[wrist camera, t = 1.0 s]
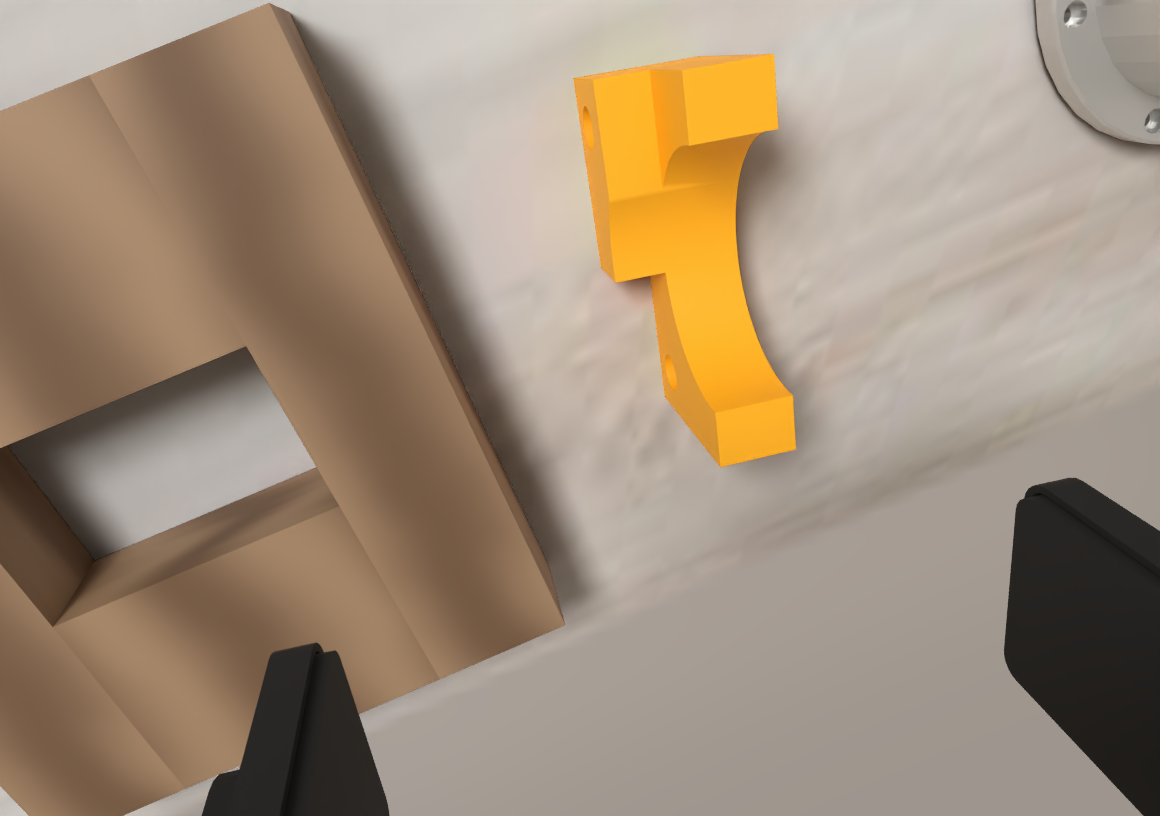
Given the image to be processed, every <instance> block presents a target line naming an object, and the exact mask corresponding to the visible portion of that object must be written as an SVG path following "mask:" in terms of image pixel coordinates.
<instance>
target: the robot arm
mask: <svg viewBox="0 0 1160 816" xmlns="http://www.w3.org/2000/svg"><path fill="white" fill-rule="evenodd" d="M1035 1H1036V16H1037V30H1038V36H1039V40H1040V44H1041V48H1042V52H1043V56H1044V60H1045V64H1046V67H1047V69H1048V71H1049V73H1050V75H1051V77H1052V79H1053V81H1054V83H1055V85H1056V88H1057V90H1058V92H1059V93H1060V95H1061V96H1062V97H1063V98H1064V100H1065V101H1066V102H1067V103H1068V104H1069V106H1070V107H1071V108H1072V109H1073V111H1074V112H1075V113H1076V114H1077V115H1078V116H1079V117H1081V118H1082V119H1083V120H1085V121H1086V122H1087V123H1089V124H1090V125H1091V126H1093V127H1094V128H1095V129H1097V130H1098V131H1101V132H1103V133H1106V134H1108V135H1111V136H1113V137H1116V138H1118V139H1121V140H1126V141H1133V142H1140V143H1147V144H1160V0H1035ZM1004 655H1005V661H1006V664H1007V666H1008V668H1009V670H1010V672H1011V674H1012V676H1013V677H1014V678H1015V680H1016V681H1017V682H1018V683H1019V684H1020V685H1021V686H1022V687H1023V688H1024V689H1025V690H1026V691H1027V692H1028V693H1029V695H1030V696H1031V697H1032V698H1033V699H1034V700H1035V701H1036V702H1037V703H1038V704H1039V705H1040V706H1041V707H1042V708H1043V709H1044V710H1045V712H1046V713H1047V714H1048V715H1049V716H1050V717H1051V718H1052V719H1053V720H1054V721H1055V722H1056V723H1057V724H1058V725H1059V726H1060V727H1061V729H1062V730H1063V731H1064V732H1065V733H1066V734H1067V735H1068V736H1069V737H1070V738H1071V739H1072V740H1073V741H1074V742H1075V743H1076V744H1077V746H1079V748H1080V749H1081V750H1082V751H1083V752H1084V753H1085V754H1086V755H1087V756H1088V757H1089V758H1090V759H1091V760H1092V761H1093V762H1094V764H1096V766H1097V767H1098V768H1099V769H1100V770H1101V771H1102V772H1103V773H1104V774H1105V775H1106V776H1107V777H1108V779H1109V780H1111V782H1112V783H1113V784H1114V785H1115V786H1116V787H1117V788H1118V789H1119V790H1120V791H1121V792H1122V793H1123V794H1124V796H1125V797H1126V798H1127V799H1128V800H1129V801H1130V802H1131V803H1132V804H1133V805H1134V806H1135V807H1136V808H1137V809H1138V810H1139V811H1140V812H1141V814H1142V815H1143V816H1160V531H1159V530H1157V529H1156V528H1154V527H1153V526H1151V525H1149V524H1148V523H1146V522H1145V521H1143V520H1141V519H1140V518H1139V517H1137V516H1136V515H1134V514H1132V513H1131V512H1129V511H1128V510H1126V509H1125V508H1123V507H1122V506H1120V505H1118V504H1117V503H1116V502H1114V501H1113V500H1111V499H1109V498H1108V497H1106V496H1104V495H1103V494H1102V493H1100V492H1098V491H1097V490H1096V489H1094V488H1092V487H1091V486H1089V485H1088V484H1086V483H1085V482H1083V481H1081V480H1079V479H1077V478H1067V479H1062V480H1058V481H1053V482H1048V483H1044V484H1039V485H1035V486H1032V487H1031V488H1029V489H1028V490H1027V492H1026V494H1025V498H1024V499H1022V500H1020V501H1019V502H1018V504H1017V508H1016V514H1015V527H1014V538H1013V550H1012V563H1011V574H1010V587H1009V599H1008V610H1007V623H1006V634H1005V646H1004ZM202 816H389V810H388V804H387V800H386V796H385V793H384V790H383V787H382V784H381V781H380V778H379V775H378V772H377V769H376V766H375V763H374V760H373V756H372V753H371V751H370V747H369V744H368V741H367V738H366V735H365V732H364V729H363V726H362V723H361V720H360V717H359V714H358V711H357V707H356V704H355V701H354V698H353V695H352V692H351V689H350V686H349V683H348V680H347V677H346V674H345V671H344V668H343V665H342V662H341V659H340V656H339V654H338V652H337V651H335V650H333V651H329V652H324V651H323V649H322V647H321V646H320V644H319V643H311V644H307V645H302V646H298V647H293V648H289V649H284V650H279V651H275V652H273V653H272V654H271V655H270V658H269V661H268V664H267V668H266V672H265V676H264V679H263V683H262V687H261V691H260V694H259V698H258V702H257V706H256V709H255V713H254V717H253V721H252V725H251V728H250V732H249V736H248V740H247V743H246V747H245V751H244V755H243V758H242V762H241V766H240V770H236V771H232V772H227V773H223V774H219V775H218V776H217V778H216V779H215V780H214V781H213V783H212V786H211V788H210V790H209V793H208V796H207V800H206V803H205V806H204V810H203V813H202Z"/></svg>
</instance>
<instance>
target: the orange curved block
mask: <svg viewBox="0 0 1160 816" xmlns="http://www.w3.org/2000/svg"><path fill="white" fill-rule="evenodd" d="M573 79H574V85H575V92H576V99H577V106H578V113H579V119H580V126H581V133H582V140H583V147H584V154H585V160H586V167H587V174H588V181H589V188H590V195H591V201H592V208H593V215H594V222H595V229H596V235H597V242H598V249H599V256H600V263H601V268H602V269H603V270H604V271H605V272H606V273H607V274H608V275H609V276H610V277H611V278H612V279H613V280H614V281H615V282H616V283H617V282H622V281H627V280H632V279H637V278H642V277H646V276H650V280H651V288H652V296H653V304H654V312H655V320H656V329H657V337H658V345H659V353H660V361H661V369H662V377H663V385H664V394H665V398H666V399H667V400H668V401H669V403H670V404H671V405H672V406H673V408H674V409H675V410H676V411H677V413H678V414H679V415H680V417H681V418H682V419H683V420H684V422H685V423H686V424H687V425H688V427H689V428H690V429H691V430H692V432H693V433H694V434H695V436H696V437H697V438H698V439H699V441H700V442H701V443H702V444H703V446H704V447H705V448H706V449H707V451H708V452H709V453H710V455H711V456H712V457H713V458H714V460H715V461H716V462H717V463H718V465H719V466H720V467H723V466H728V465H732V464H736V463H740V462H745V461H749V460H753V459H757V458H762V457H766V456H770V455H774V454H779V453H783V452H787V451H791V450H796V442H795V424H794V406H793V395H792V394H791V393H790V392H789V391H788V390H787V389H786V388H785V387H784V385H783V384H782V383H781V382H780V380H779V379H778V378H777V376H776V375H775V373H774V371H773V370H772V368H771V366H770V364H769V363H768V361H767V359H766V357H765V355H764V352H763V350H762V348H761V346H760V343H759V341H758V338H757V336H756V333H755V330H754V327H753V324H752V321H751V318H750V315H749V311H748V308H747V304H746V300H745V295H744V291H743V286H742V281H741V276H740V269H739V262H738V254H737V242H736V199H737V189H738V182H739V177H740V172H741V168H742V165H743V161H744V158H745V156H746V153H747V151H748V149H749V147H750V146H751V144H752V142H753V141H754V140H755V138H756V137H757V136H758V135H760V134H761V133H762V132H765V131H770V130H776V129H778V116H777V97H776V79H775V61H774V54H759V55H728V56H698V57H693V58H687V59H681V60H675V61H670V62H664V63H658V64H652V65H647V66H641V67H635V68H629V69H624V70H618V71H612V72H606V73H601V74H595V75H589V76H584V77H578V78H573Z"/></svg>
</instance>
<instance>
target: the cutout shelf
mask: <svg viewBox="0 0 1160 816" xmlns="http://www.w3.org/2000/svg"><path fill="white" fill-rule="evenodd" d="M245 346H246V347H247V348H248V350H249V352H250V353H251V355H252V357H253V359H254V360H255V362H256V364H257V365H258V367H259V369H260V371H261V372H262V374H263V376H264V377H265V379H266V381H267V383H268V384H269V386H270V388H271V390H272V391H273V393H274V395H275V396H276V398H277V400H278V402H279V403H280V405H281V407H282V408H283V410H284V412H285V414H286V415H287V417H288V419H289V420H290V422H291V424H292V426H293V427H294V429H295V431H296V432H297V434H298V436H299V438H300V439H301V441H302V443H303V445H304V446H305V448H306V450H307V451H308V453H309V455H310V457H311V458H312V460H313V462H314V463H315V465H316V468H314V469H312V470H309V471H307V472H305V473H302V474H300V475H297V476H295V477H293V478H290V479H288V480H286V481H283V482H281V483H278V484H276V485H274V486H271V487H269V488H267V489H264V490H262V491H259V492H257V493H255V494H252V495H250V496H248V497H245V498H243V499H240V500H238V501H236V502H233V503H231V504H229V505H226V506H224V507H221V508H219V509H217V510H214V511H212V512H209V513H207V514H205V515H202V516H200V517H198V518H195V519H193V520H190V521H188V522H186V523H183V524H181V525H179V526H176V527H174V528H171V529H169V530H167V531H164V532H162V533H160V534H157V535H155V536H152V537H150V538H148V539H145V540H143V541H141V542H138V543H136V544H133V545H131V546H129V547H126V548H124V549H122V550H119V551H117V552H114V553H112V554H110V555H107V556H105V557H103V558H100V559H98V560H95V561H94V559H93V558H92V557H91V555H90V554H89V553H88V551H87V550H86V549H85V547H84V546H83V545H82V544H81V542H80V541H79V540H78V538H77V537H76V536H75V534H74V533H73V532H72V530H71V529H70V528H69V526H68V525H67V524H66V522H65V521H64V520H63V519H62V517H61V516H60V515H59V513H58V512H57V511H56V509H55V508H54V507H53V505H52V504H51V503H50V501H49V500H48V499H47V497H46V496H45V495H44V494H43V492H42V491H41V490H40V488H39V487H38V486H37V484H36V483H35V482H34V480H33V479H32V478H31V476H30V475H29V474H28V472H27V471H26V470H25V469H24V467H23V466H22V465H21V463H20V462H19V461H18V459H17V458H16V457H15V455H14V454H13V453H12V451H11V450H10V449H9V447H8V446H7V445H9V444H11V443H14V442H16V441H19V440H21V439H23V438H26V437H28V436H31V435H33V434H35V433H38V432H40V431H43V430H45V429H48V428H50V427H52V426H55V425H57V424H60V423H62V422H64V421H67V420H69V419H72V418H74V417H76V416H79V415H81V414H84V413H86V412H89V411H91V410H93V409H96V408H98V407H101V406H103V405H105V404H108V403H110V402H113V401H115V400H117V399H120V398H122V397H125V396H127V395H129V394H132V393H134V392H137V391H139V390H142V389H144V388H146V387H149V386H151V385H154V384H156V383H158V382H161V381H163V380H166V379H168V378H170V377H173V376H175V375H178V374H180V373H183V372H185V371H187V370H190V369H192V368H195V367H197V366H199V365H202V364H204V363H207V362H209V361H211V360H214V359H216V358H219V357H221V356H223V355H226V354H228V353H231V352H233V351H236V350H238V349H240V348H243V347H245ZM564 625H565V622H564V619H563V615H562V611H561V608H560V604H559V601H558V597H557V594H556V590H555V586H554V583H553V579H552V576H551V572H550V569H549V565H548V563H547V561H546V559H545V557H544V555H543V553H542V551H541V548H540V546H539V544H538V542H537V540H536V538H535V536H534V533H533V531H532V529H531V527H530V525H529V523H528V521H527V519H526V516H525V514H524V512H523V510H522V508H521V506H520V504H519V501H518V499H517V497H516V495H515V493H514V491H513V489H512V487H511V484H510V482H509V480H508V478H507V476H506V474H505V472H504V469H503V467H502V465H501V463H500V461H499V459H498V457H497V455H496V452H495V450H494V448H493V446H492V444H491V442H490V440H489V437H488V435H487V433H486V431H485V429H484V427H483V425H482V423H481V420H480V418H479V416H478V414H477V412H476V410H475V408H474V405H473V403H472V401H471V399H470V397H469V395H468V393H467V391H466V388H465V386H464V384H463V382H462V380H461V378H460V376H459V373H458V371H457V369H456V367H455V365H454V363H453V361H452V359H451V356H450V354H449V352H448V350H447V348H446V346H445V344H444V341H443V339H442V337H441V335H440V333H439V331H438V329H437V327H436V324H435V322H434V320H433V318H432V316H431V314H430V312H429V309H428V307H427V305H426V303H425V301H424V299H423V297H422V294H421V292H420V290H419V288H418V286H417V284H416V282H415V280H414V277H413V275H412V273H411V271H410V269H409V267H408V265H407V262H406V260H405V258H404V256H403V254H402V252H401V250H400V248H399V245H398V243H397V241H396V239H395V237H394V235H393V233H392V230H391V228H390V226H389V224H388V222H387V220H386V218H385V216H384V213H383V211H382V209H381V207H380V205H379V203H378V201H377V198H376V196H375V194H374V192H373V190H372V188H371V186H370V184H369V181H368V179H367V177H366V175H365V173H364V171H363V169H362V166H361V164H360V162H359V160H358V158H357V156H356V154H355V152H354V149H353V147H352V145H351V143H350V141H349V139H348V137H347V134H346V132H345V130H344V128H343V126H342V124H341V122H340V120H339V117H338V115H337V113H336V111H335V109H334V107H333V105H332V102H331V100H330V98H329V96H328V94H327V92H326V90H325V88H324V85H323V83H322V81H321V79H320V77H319V75H318V73H317V70H316V68H315V66H314V64H313V62H312V60H311V58H310V56H309V53H308V51H307V49H306V47H305V45H304V43H303V41H302V38H301V36H300V34H299V32H298V30H297V28H296V26H295V23H294V21H293V19H292V17H291V15H290V13H289V12H288V11H286V10H284V9H281V8H279V7H277V6H275V5H273V4H270V3H268V4H265V5H263V6H260V7H258V8H255V9H253V10H250V11H248V12H245V13H243V14H241V15H238V16H236V17H233V18H231V19H228V20H226V21H223V22H221V23H218V24H216V25H213V26H211V27H208V28H206V29H203V30H201V31H198V32H196V33H193V34H191V35H188V36H186V37H183V38H181V39H178V40H176V41H173V42H171V43H168V44H166V45H163V46H161V47H158V48H156V49H153V50H151V51H149V52H146V53H144V54H141V55H139V56H136V57H134V58H131V59H129V60H126V61H124V62H121V63H119V64H116V65H114V66H111V67H109V68H106V69H104V70H101V71H99V72H96V73H94V74H91V75H89V76H86V77H84V78H81V79H79V80H76V81H74V82H71V83H69V84H66V85H64V86H61V87H59V88H57V89H54V90H52V91H49V92H47V93H44V94H42V95H39V96H37V97H34V98H32V99H29V100H27V101H24V102H22V103H19V104H17V105H14V106H12V107H9V108H7V109H4V110H2V111H0V786H1V787H2V788H3V789H4V790H5V791H6V792H7V793H8V794H9V796H10V797H11V798H12V799H13V800H14V801H15V802H16V803H17V804H18V805H19V806H20V807H21V808H22V809H23V810H24V811H25V812H26V813H27V814H28V815H29V816H123V815H125V814H128V813H130V812H132V811H135V810H137V809H139V808H142V807H144V806H146V805H149V804H151V803H153V802H156V801H158V800H160V799H163V798H165V797H167V796H170V795H172V794H174V793H177V792H179V791H181V790H183V789H186V788H188V787H190V786H193V785H195V784H197V783H200V782H202V781H204V780H207V779H209V778H211V777H214V776H216V775H218V774H221V773H223V772H225V771H228V770H230V769H232V768H235V767H237V766H239V765H241V762H242V758H243V755H244V751H245V747H246V743H247V740H248V736H249V732H250V728H251V725H252V721H253V717H254V713H255V709H256V706H257V702H258V698H259V694H260V691H261V687H262V683H263V679H264V676H265V672H266V668H267V664H268V661H269V658H270V655H271V654H272V653H273V652H275V651H279V650H284V649H289V648H293V647H298V646H302V645H307V644H311V643H319V644H320V646H321V647H322V649H323V651H324V652H329V651H333V650H335V651H337V652H338V654H339V656H340V659H341V662H342V665H343V668H344V671H345V674H346V677H347V680H348V683H349V686H350V689H351V692H352V695H353V698H354V701H355V704H356V707H357V711H358V714H360V713H362V712H365V711H367V710H369V709H371V708H374V707H376V706H378V705H381V704H383V703H385V702H388V701H390V700H392V699H395V698H397V697H399V696H402V695H404V694H406V693H409V692H411V691H413V690H416V689H418V688H420V687H423V686H425V685H427V684H430V683H432V682H434V681H436V680H439V679H441V678H443V677H446V676H448V675H450V674H453V673H455V672H457V671H460V670H462V669H464V668H467V667H469V666H471V665H474V664H476V663H478V662H481V661H483V660H485V659H488V658H490V657H492V656H495V655H497V654H499V653H501V652H504V651H506V650H508V649H511V648H513V647H515V646H518V645H520V644H522V643H525V642H527V641H529V640H532V639H534V638H536V637H539V636H541V635H543V634H546V633H548V632H550V631H553V630H555V629H557V628H560V627H562V626H564Z"/></svg>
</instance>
